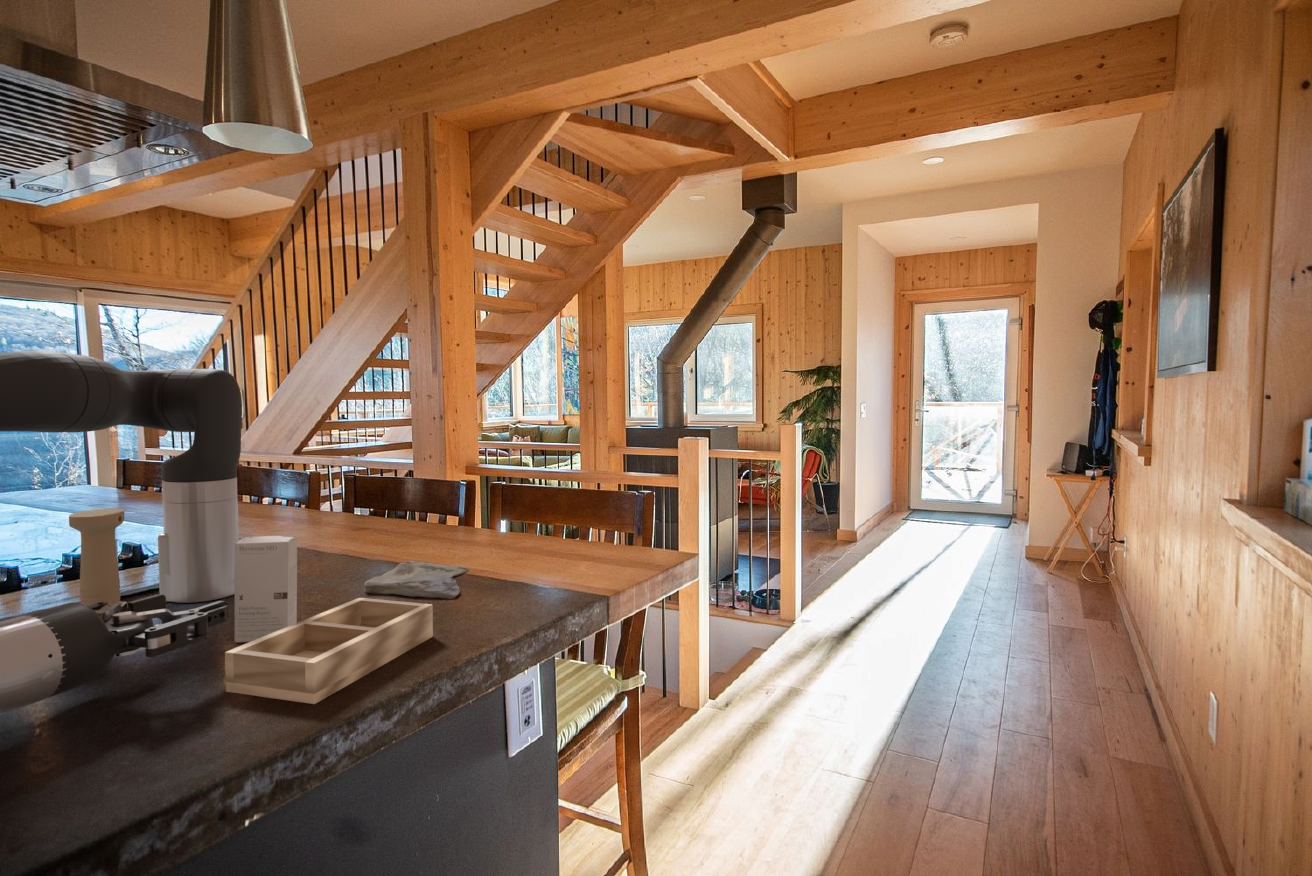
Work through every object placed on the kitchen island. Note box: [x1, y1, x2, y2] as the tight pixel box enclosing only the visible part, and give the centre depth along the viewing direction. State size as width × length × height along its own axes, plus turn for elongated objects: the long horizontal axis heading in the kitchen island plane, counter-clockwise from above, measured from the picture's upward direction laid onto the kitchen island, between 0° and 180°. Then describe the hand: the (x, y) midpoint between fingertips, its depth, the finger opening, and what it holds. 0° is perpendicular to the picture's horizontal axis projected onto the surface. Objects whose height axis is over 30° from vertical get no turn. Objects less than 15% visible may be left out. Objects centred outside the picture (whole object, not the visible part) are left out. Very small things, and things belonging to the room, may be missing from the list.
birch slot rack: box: [224, 597, 434, 705], centre depth 78 cm, size 20×10×4 cm, turn 165°
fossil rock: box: [363, 560, 470, 600], centre depth 112 cm, size 18×15×2 cm
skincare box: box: [233, 535, 298, 644], centre depth 86 cm, size 6×4×12 cm
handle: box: [68, 508, 125, 606], centre depth 86 cm, size 5×6×15 cm
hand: (194, 606), depth 76 cm, fingers open, 8 cm apart
